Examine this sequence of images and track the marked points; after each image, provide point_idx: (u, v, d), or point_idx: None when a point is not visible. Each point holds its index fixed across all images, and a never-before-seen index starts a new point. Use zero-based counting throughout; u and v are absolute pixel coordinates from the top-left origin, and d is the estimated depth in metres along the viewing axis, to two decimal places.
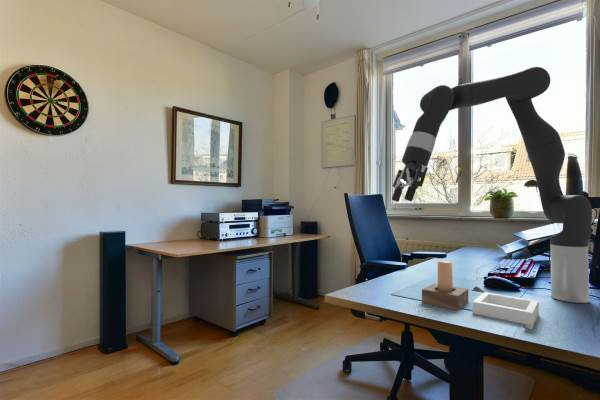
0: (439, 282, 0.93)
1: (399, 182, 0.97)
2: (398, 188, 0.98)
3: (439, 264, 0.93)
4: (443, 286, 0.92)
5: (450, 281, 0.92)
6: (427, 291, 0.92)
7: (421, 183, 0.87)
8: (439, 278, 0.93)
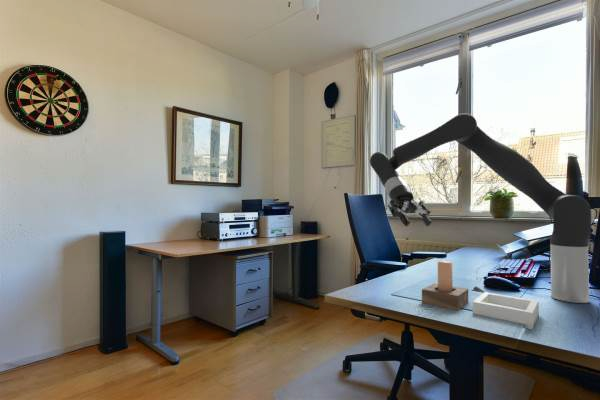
0: (439, 282, 0.93)
1: (416, 214, 1.11)
2: (422, 216, 1.09)
3: (439, 264, 0.93)
4: (443, 286, 0.92)
5: (450, 281, 0.92)
6: (427, 291, 0.92)
7: (395, 211, 1.06)
8: (439, 278, 0.93)
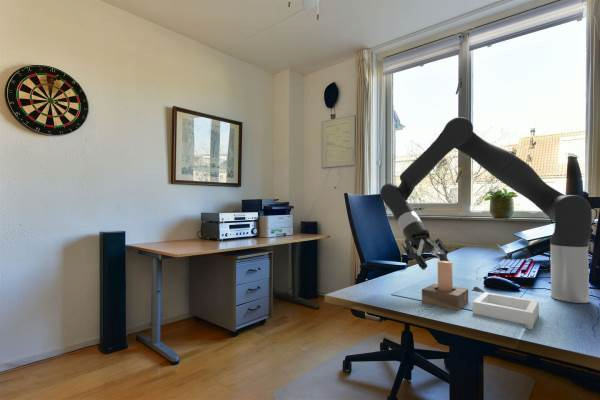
0: (439, 282, 0.93)
1: (433, 254, 1.03)
2: (440, 256, 1.01)
3: (439, 264, 0.93)
4: (443, 286, 0.92)
5: (450, 281, 0.92)
6: (427, 291, 0.92)
7: (410, 253, 0.98)
8: (439, 278, 0.93)
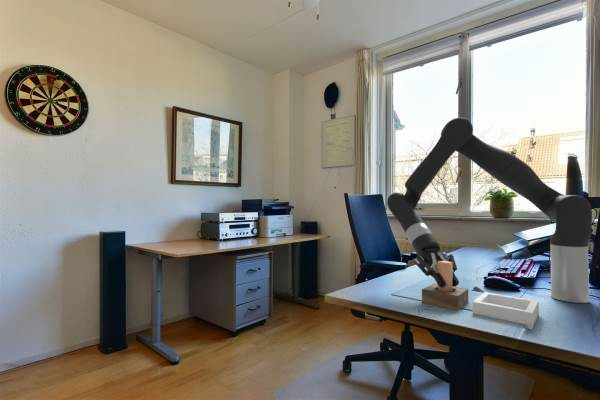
0: None
1: None
2: None
3: (439, 264, 0.93)
4: None
5: (450, 281, 0.92)
6: (427, 291, 0.92)
7: (428, 270, 0.93)
8: None
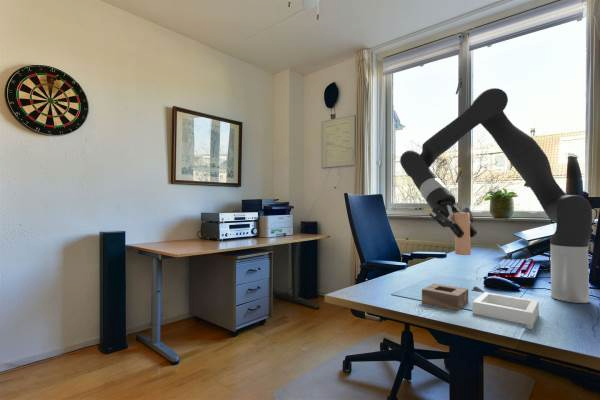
0: None
1: None
2: None
3: (456, 214, 0.91)
4: (461, 237, 0.90)
5: (468, 231, 0.90)
6: (427, 291, 0.92)
7: (445, 221, 0.91)
8: None
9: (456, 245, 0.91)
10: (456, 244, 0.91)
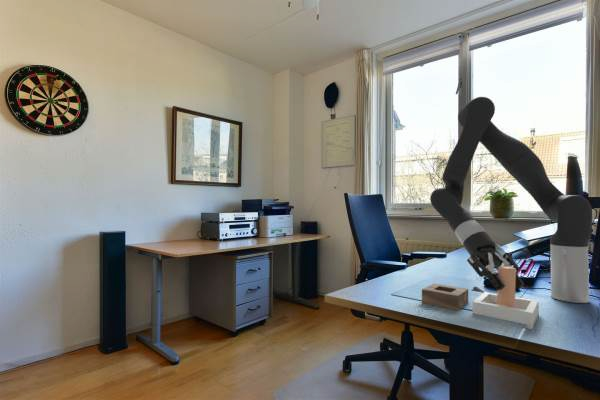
0: (500, 290, 0.84)
1: None
2: None
3: (501, 270, 0.84)
4: (505, 295, 0.83)
5: (513, 289, 0.83)
6: (427, 291, 0.92)
7: (483, 270, 0.84)
8: None
9: (499, 303, 0.85)
10: (499, 301, 0.85)
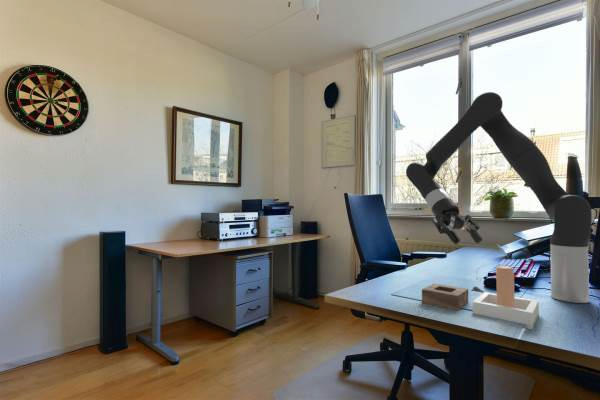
0: (499, 290, 0.85)
1: (464, 230, 1.02)
2: (471, 232, 1.01)
3: (499, 270, 0.85)
4: (505, 295, 0.83)
5: (512, 289, 0.83)
6: (427, 291, 0.92)
7: (442, 227, 0.97)
8: (499, 285, 0.85)
9: (499, 303, 0.85)
10: (499, 302, 0.85)
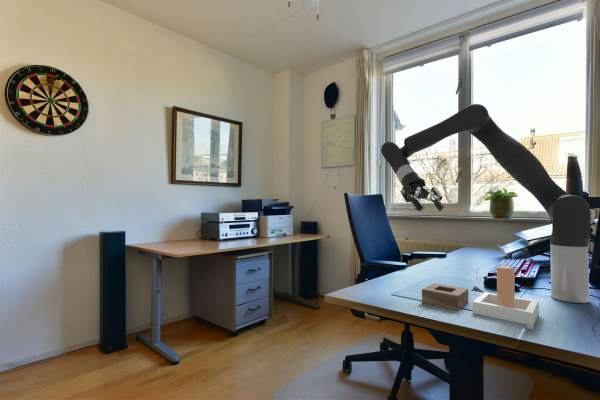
0: (499, 290, 0.84)
1: (429, 200, 1.13)
2: (434, 201, 1.12)
3: (500, 270, 0.85)
4: (505, 295, 0.83)
5: (512, 289, 0.83)
6: (427, 291, 0.92)
7: (408, 196, 1.09)
8: (500, 285, 0.84)
9: (499, 303, 0.85)
10: (499, 302, 0.85)
